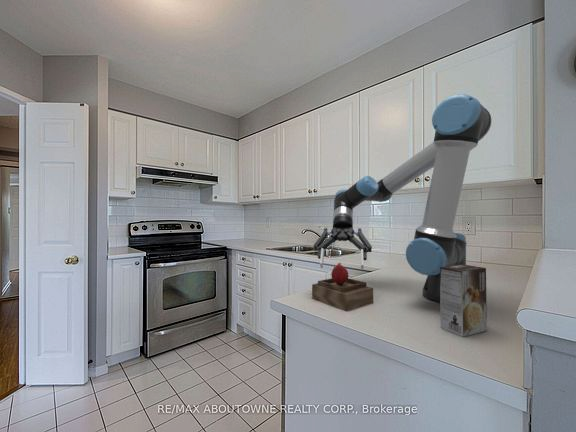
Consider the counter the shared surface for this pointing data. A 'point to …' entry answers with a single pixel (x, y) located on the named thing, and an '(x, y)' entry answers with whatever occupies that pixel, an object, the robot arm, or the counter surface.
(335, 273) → the onion
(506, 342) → the counter surface
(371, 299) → the stand
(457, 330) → the coffee box
